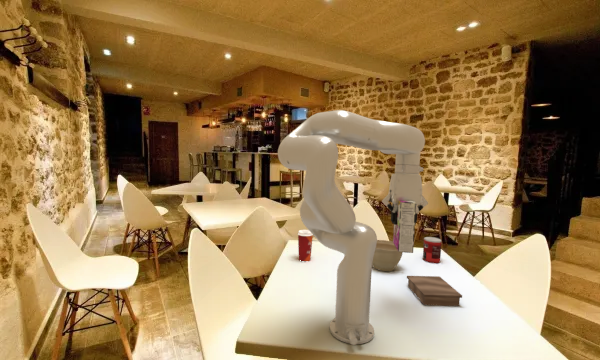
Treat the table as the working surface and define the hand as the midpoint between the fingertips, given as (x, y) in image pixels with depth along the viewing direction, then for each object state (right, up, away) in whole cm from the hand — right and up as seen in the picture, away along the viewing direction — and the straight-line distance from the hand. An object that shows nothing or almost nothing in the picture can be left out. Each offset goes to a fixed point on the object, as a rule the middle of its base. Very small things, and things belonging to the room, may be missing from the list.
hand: (403, 223), depth 98 cm
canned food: (+30, -26, +47) cm, 62 cm away
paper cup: (-33, -24, +44) cm, 59 cm away
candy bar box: (0, -8, 0) cm, 8 cm away
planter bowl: (+4, -26, +36) cm, 44 cm away
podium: (+14, -28, +10) cm, 33 cm away
